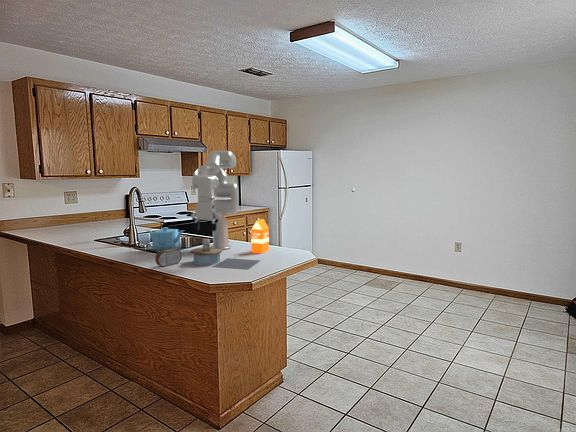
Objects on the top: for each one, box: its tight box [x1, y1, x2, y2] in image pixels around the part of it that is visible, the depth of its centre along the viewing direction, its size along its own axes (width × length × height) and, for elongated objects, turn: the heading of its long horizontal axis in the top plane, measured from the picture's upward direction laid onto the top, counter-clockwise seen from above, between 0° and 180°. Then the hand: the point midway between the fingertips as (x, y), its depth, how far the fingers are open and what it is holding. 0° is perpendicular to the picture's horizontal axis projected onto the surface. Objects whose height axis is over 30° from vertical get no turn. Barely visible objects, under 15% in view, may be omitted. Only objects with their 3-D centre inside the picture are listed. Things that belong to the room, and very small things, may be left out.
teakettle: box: [145, 226, 186, 253], centre depth 244 cm, size 19×19×15 cm
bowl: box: [192, 253, 221, 266], centre depth 214 cm, size 14×14×6 cm
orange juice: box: [250, 218, 270, 254], centre depth 241 cm, size 8×9×20 cm
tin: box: [154, 248, 183, 267], centre depth 208 cm, size 15×3×8 cm, turn 141°
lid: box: [190, 238, 223, 255], centre depth 213 cm, size 17×17×7 cm
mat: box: [212, 257, 261, 270], centre depth 209 cm, size 20×20×1 cm
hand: (206, 230), depth 212 cm, fingers open, 9 cm apart
